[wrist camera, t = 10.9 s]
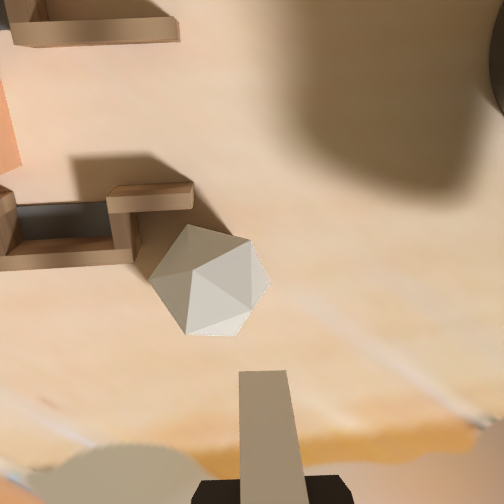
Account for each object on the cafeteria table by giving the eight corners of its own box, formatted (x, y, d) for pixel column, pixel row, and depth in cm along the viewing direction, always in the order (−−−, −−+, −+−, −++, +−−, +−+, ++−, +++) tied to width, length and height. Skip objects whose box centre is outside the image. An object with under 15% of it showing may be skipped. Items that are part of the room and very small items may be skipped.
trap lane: (172, -46, 29) (160, -74, 23) (199, 243, 37) (194, 273, 31) (-173, -34, 28) (-271, -61, 23) (-71, 259, 36) (-126, 293, 30)
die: (182, 315, 40) (250, 374, 33) (111, 278, 33) (178, 342, 27) (233, 241, 41) (310, 285, 34) (173, 191, 34) (253, 233, 28)
